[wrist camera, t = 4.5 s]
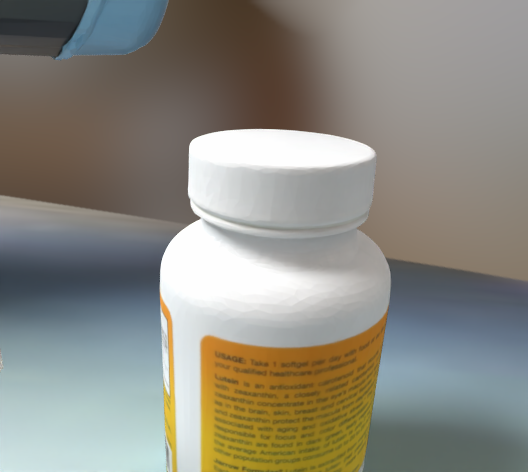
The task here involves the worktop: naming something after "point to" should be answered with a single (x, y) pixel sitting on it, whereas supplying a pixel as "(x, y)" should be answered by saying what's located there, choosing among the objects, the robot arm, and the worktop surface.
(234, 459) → the supplement bottle
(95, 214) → the worktop surface
